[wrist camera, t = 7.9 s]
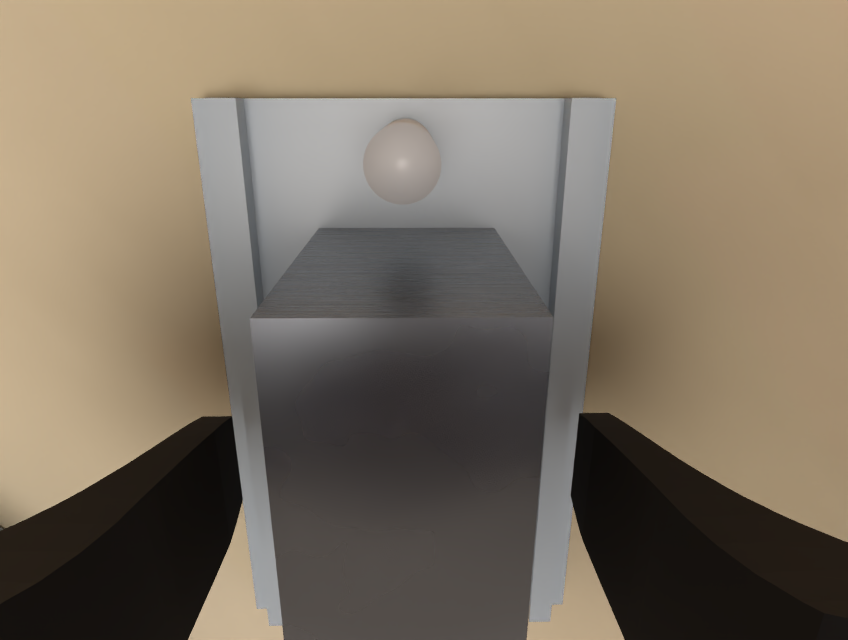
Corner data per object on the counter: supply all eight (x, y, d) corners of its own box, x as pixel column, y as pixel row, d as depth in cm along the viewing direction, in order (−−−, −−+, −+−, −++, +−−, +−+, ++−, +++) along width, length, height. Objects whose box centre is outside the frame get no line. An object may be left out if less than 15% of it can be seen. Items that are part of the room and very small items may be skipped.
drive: (496, 227, 13) (556, 316, 8) (481, 544, 16) (517, 773, 11) (316, 228, 13) (246, 318, 8) (336, 546, 16) (295, 777, 11)
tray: (604, 98, 13) (703, 95, 9) (556, 583, 18) (604, 743, 14) (203, 98, 13) (93, 95, 9) (263, 587, 18) (213, 749, 13)
